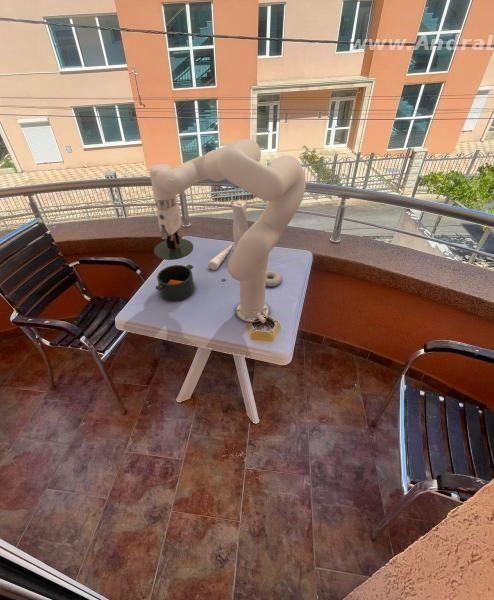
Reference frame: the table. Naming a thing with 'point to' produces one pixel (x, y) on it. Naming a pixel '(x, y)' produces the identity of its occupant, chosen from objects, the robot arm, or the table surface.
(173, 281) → the orange bottle
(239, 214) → the grater
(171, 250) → the pot lid
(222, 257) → the unicorn horn
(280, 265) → the table surface
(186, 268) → the pot
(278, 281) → the donut
